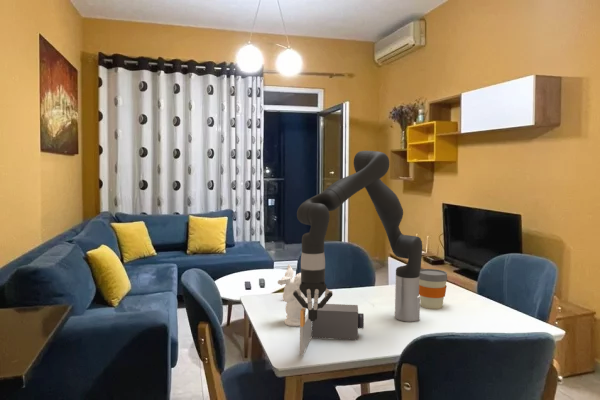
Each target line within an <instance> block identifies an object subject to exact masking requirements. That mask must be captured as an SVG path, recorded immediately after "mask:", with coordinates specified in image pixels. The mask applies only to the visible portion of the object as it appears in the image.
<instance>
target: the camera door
mask: <svg viewBox="0 0 600 400" xmlns="http://www.w3.org/2000/svg"><path fill="white" fill-rule="evenodd" d="M311 339H312V321H310V319H308V313H307V314H306V312H305V308H302V309H301V311H300V326H299V356H304V354H305V352H306V350H307V347H308V345H309V342H310V341H311Z"/></svg>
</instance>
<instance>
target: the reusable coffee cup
mask: <svg viewBox="0 0 600 400" xmlns="http://www.w3.org/2000/svg"><path fill="white" fill-rule="evenodd" d="M447 281H448V272H447V271H445V270H442V269H436V268H435V269H434V268H423V269H422V268H421V269H420V278H419V296H420V307H422V308H425V309H428V310H429V309H430V310H439V309H442V308H443V303H444V297H446V291H447Z"/></svg>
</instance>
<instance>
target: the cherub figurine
mask: <svg viewBox="0 0 600 400" xmlns="http://www.w3.org/2000/svg"><path fill="white" fill-rule="evenodd" d="M277 284H278V285H279V286H283V285H285V286H284V287H283V293H282V300H283V301H284V302H285V312H286V315H285V316H286V318H285V319H284V324H285V325H286V326H288V327H300V311H301V309H302V308H303V307H302V305H301V304H300V303H299V302H298V300H297V299H296V298H295V296H294V295H293V292H294V290H297V289H298V288H299V286H300V284H301V272H299V273H296V275H295V276H294V269H293V268H292V266H291V265H290V264H289V263H288V264H287V267H286V271H285V273H284V276H283V277H282V278H280V279H278V281H277ZM301 296H302V298H303V299H304V300H305V302H306V303H308V301H307V298H306V297H305V296H304V294H303V293H302V292H301ZM307 310H308V309H307V308H305V313H306V311H307Z"/></svg>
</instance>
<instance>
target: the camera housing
mask: <svg viewBox="0 0 600 400" xmlns="http://www.w3.org/2000/svg"><path fill="white" fill-rule="evenodd" d="M313 307H314V303H312V308H313ZM364 317H365V315H364V313H359V305H358V304H340V303H326V304H325V305H324V306H323V308H319V309H318V310H317V320H315V321H312V336H311V339H322V340H323V339H326V340H346V341H347V340H348V341H358V340H359V339H358V338H359V336H358V335H359V329H360V330H361V329H362V330H363V329H364V327H365V326H364V324H365V322H364Z"/></svg>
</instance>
